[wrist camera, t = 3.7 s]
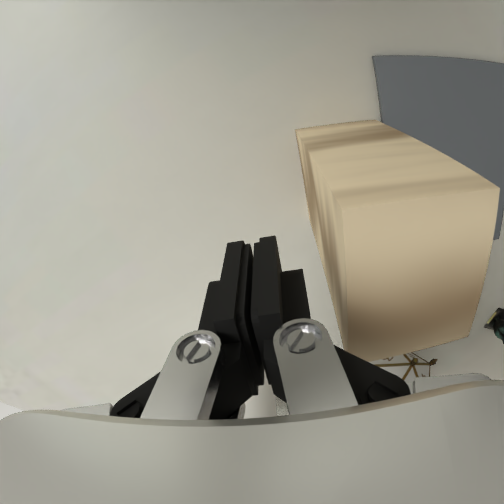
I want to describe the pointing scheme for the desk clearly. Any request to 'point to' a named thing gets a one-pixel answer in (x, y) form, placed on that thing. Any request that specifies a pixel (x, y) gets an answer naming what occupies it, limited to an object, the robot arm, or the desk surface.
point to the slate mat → (448, 109)
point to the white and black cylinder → (261, 402)
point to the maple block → (396, 236)
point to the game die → (406, 366)
